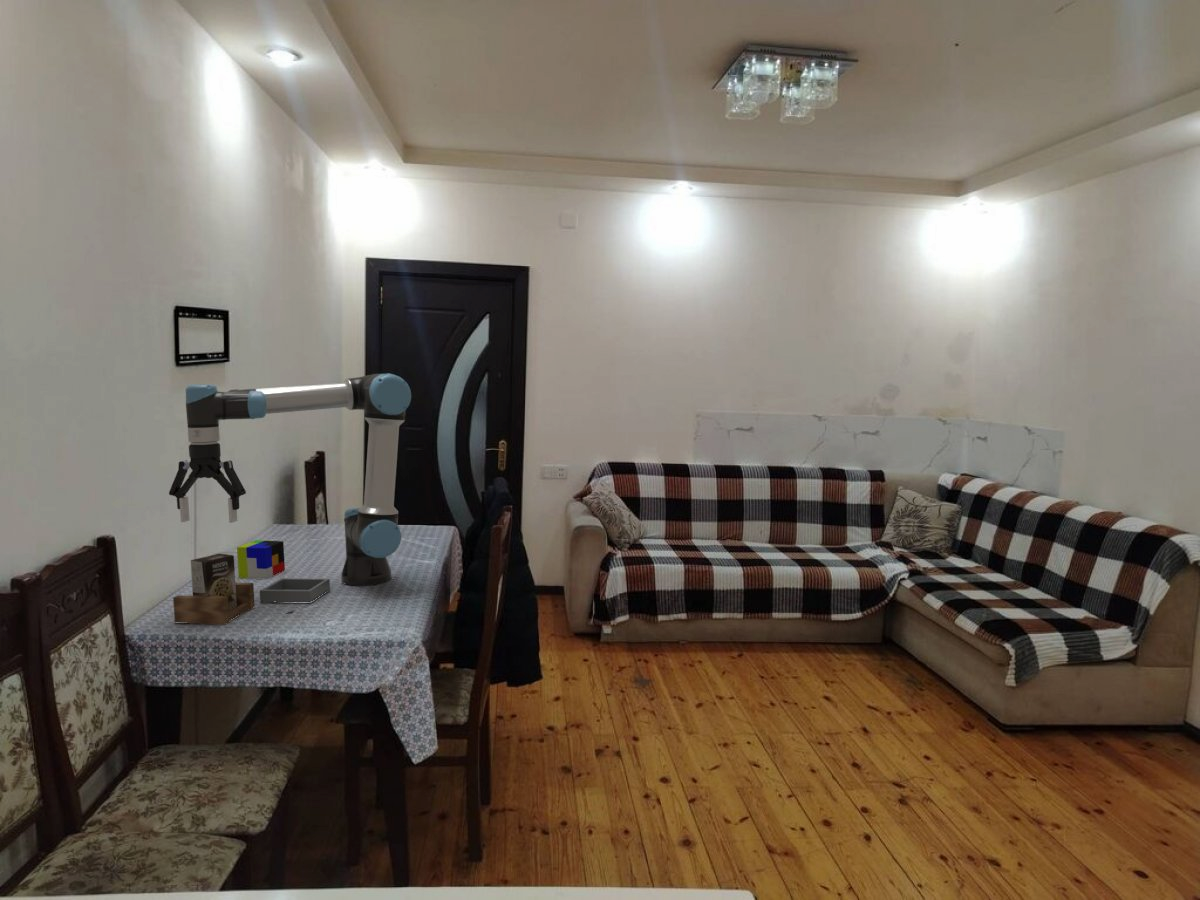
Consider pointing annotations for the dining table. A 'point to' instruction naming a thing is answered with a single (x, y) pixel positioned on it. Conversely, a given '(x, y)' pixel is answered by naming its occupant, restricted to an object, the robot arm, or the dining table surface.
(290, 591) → the tray
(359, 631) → the dining table surface
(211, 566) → the coffee box
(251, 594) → the holder
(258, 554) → the puzzle toy
